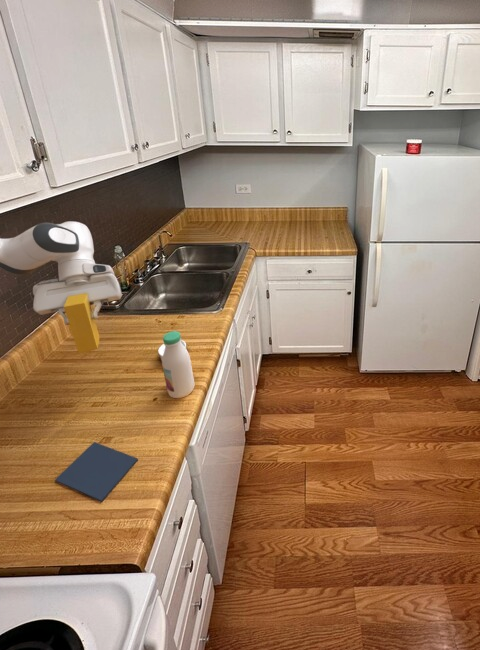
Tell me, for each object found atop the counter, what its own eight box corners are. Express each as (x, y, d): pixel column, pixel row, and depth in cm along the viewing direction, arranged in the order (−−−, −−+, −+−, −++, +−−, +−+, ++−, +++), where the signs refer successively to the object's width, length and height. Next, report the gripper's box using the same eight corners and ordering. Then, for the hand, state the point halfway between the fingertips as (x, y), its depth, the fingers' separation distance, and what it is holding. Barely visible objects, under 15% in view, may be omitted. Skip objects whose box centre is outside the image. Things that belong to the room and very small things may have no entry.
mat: (55, 481, 76) (54, 479, 76) (94, 443, 85) (94, 441, 85) (101, 502, 72) (101, 500, 72) (138, 460, 81) (137, 458, 80)
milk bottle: (195, 378, 106) (187, 325, 99) (193, 396, 99) (184, 341, 92) (170, 382, 104) (159, 329, 97) (166, 401, 97) (154, 345, 90)
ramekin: (191, 359, 114) (189, 349, 112) (164, 370, 109) (161, 359, 107) (183, 346, 121) (181, 336, 119) (157, 355, 116) (155, 345, 114)
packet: (81, 341, 96) (67, 296, 90) (99, 337, 98) (87, 292, 92) (78, 353, 91) (63, 306, 85) (97, 349, 93) (84, 302, 87)
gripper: (28, 278, 88) (29, 329, 84) (116, 264, 97) (121, 309, 92) (37, 286, 93) (38, 334, 89) (119, 272, 102) (125, 315, 98)
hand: (81, 321), depth 91 cm, fingers closed on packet, 4 cm apart
